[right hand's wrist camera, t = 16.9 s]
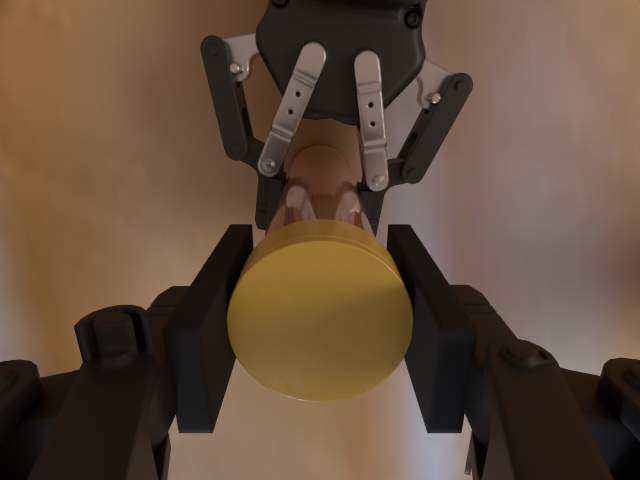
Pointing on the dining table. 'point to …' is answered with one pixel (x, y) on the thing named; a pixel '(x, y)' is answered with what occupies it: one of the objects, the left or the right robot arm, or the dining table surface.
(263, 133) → the dining table surface
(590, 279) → the dining table surface
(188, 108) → the dining table surface
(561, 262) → the dining table surface
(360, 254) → the lid
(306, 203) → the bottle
